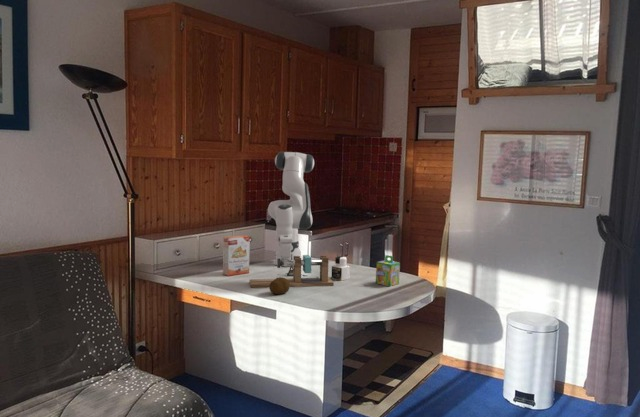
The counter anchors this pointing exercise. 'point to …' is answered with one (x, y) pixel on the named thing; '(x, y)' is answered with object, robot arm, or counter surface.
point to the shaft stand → (297, 279)
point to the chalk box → (387, 272)
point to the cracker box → (236, 255)
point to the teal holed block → (307, 264)
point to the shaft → (292, 262)
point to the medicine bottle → (340, 269)
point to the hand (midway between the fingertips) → (284, 263)
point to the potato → (279, 285)
